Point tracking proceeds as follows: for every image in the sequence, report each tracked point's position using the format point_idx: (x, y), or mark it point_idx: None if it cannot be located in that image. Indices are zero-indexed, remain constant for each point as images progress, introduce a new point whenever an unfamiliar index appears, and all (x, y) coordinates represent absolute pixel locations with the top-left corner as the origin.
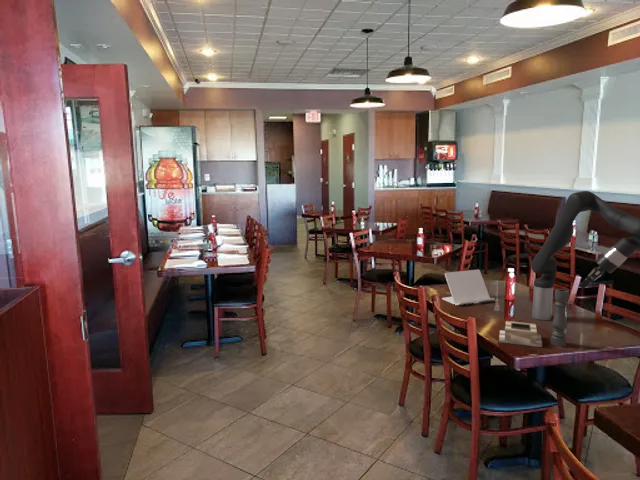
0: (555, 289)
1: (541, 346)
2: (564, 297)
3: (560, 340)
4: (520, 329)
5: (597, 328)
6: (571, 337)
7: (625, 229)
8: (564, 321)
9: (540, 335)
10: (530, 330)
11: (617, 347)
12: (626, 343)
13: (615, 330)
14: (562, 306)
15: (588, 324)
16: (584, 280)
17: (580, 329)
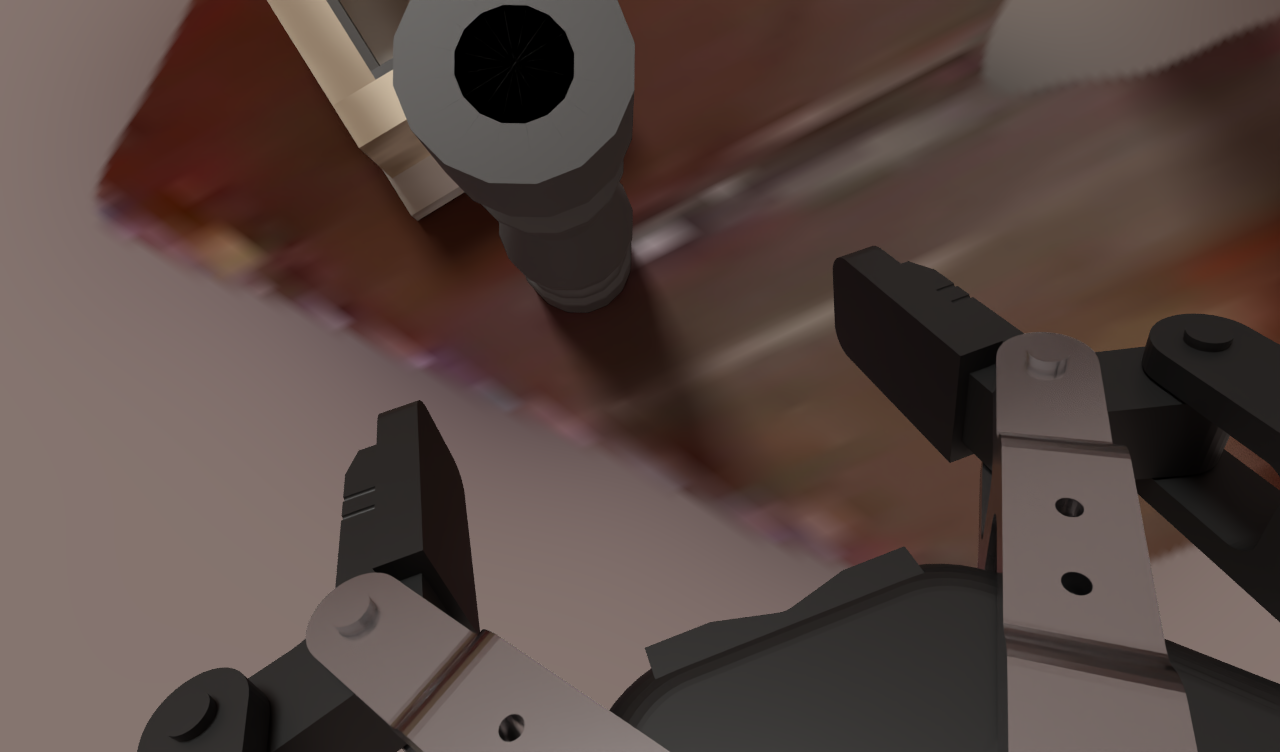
0: None
1: (414, 216)
2: (460, 186)
3: (534, 288)
4: (332, 6)
5: (1166, 282)
6: (797, 254)
7: None
8: (541, 270)
9: None
10: (379, 76)
11: (859, 563)
12: None
13: None
14: (486, 207)
15: (1207, 192)
16: (882, 303)
17: (1034, 210)
